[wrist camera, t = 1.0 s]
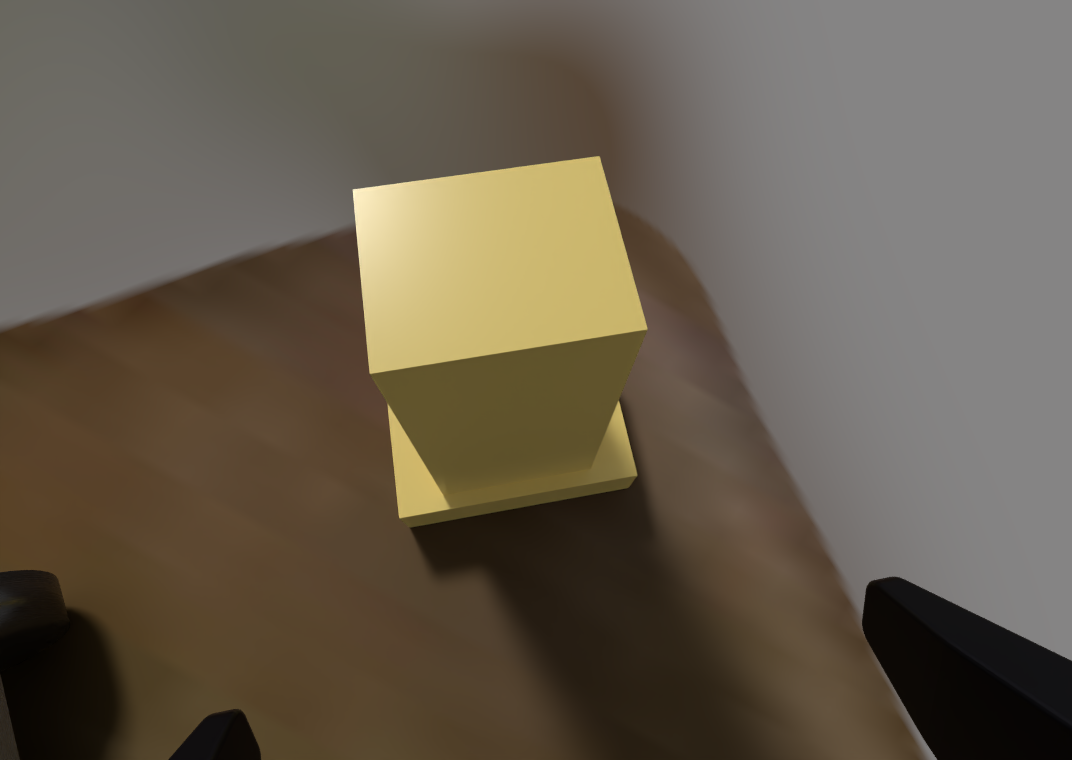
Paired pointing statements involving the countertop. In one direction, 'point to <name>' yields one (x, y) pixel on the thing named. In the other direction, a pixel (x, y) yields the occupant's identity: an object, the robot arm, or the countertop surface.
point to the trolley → (26, 630)
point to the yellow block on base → (500, 336)
